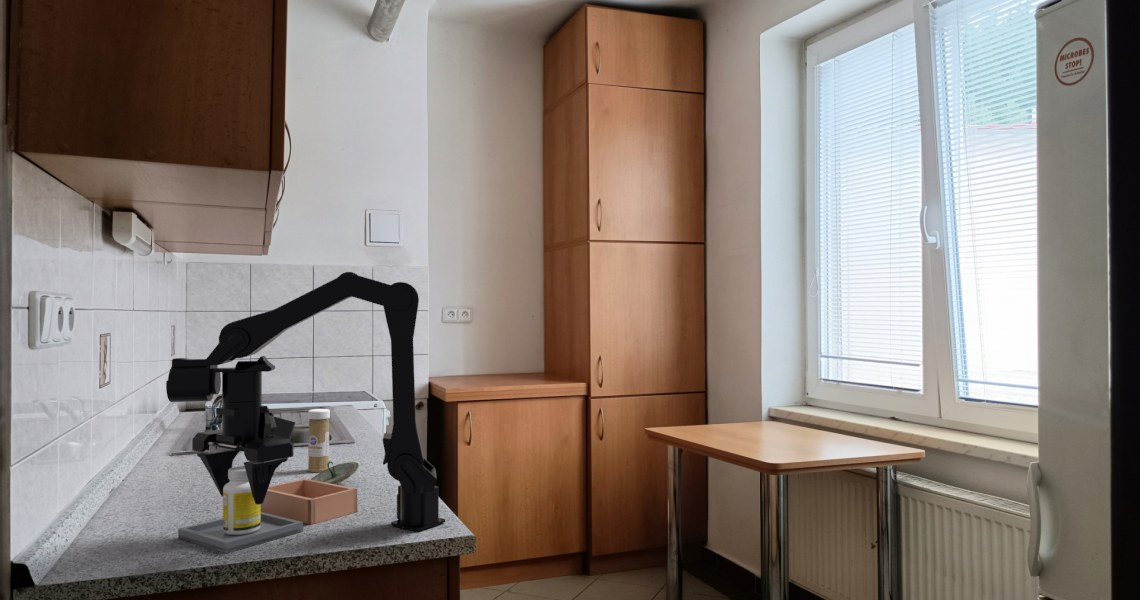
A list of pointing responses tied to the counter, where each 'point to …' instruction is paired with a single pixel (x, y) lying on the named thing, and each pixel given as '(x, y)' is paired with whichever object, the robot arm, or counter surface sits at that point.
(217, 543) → the tray
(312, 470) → the sprinkles bottle
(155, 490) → the counter surface
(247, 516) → the supplement bottle
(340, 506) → the holder
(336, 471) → the lid
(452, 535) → the counter surface
